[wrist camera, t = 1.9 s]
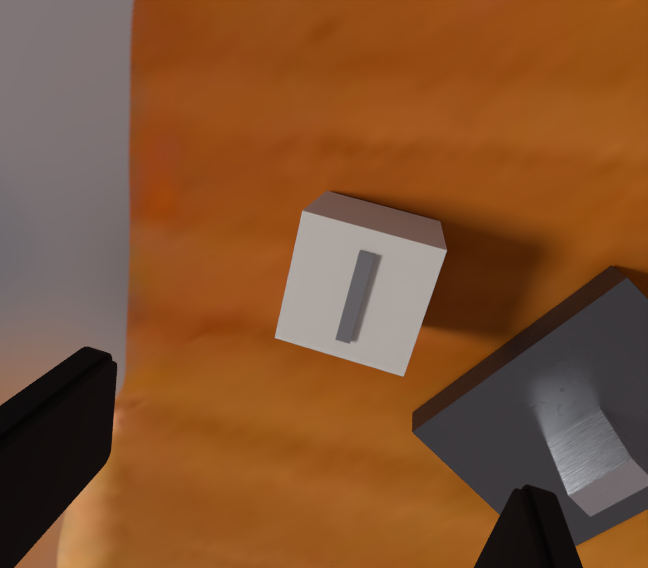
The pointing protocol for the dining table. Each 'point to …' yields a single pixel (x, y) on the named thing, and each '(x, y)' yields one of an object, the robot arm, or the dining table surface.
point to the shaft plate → (557, 410)
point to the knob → (360, 281)
